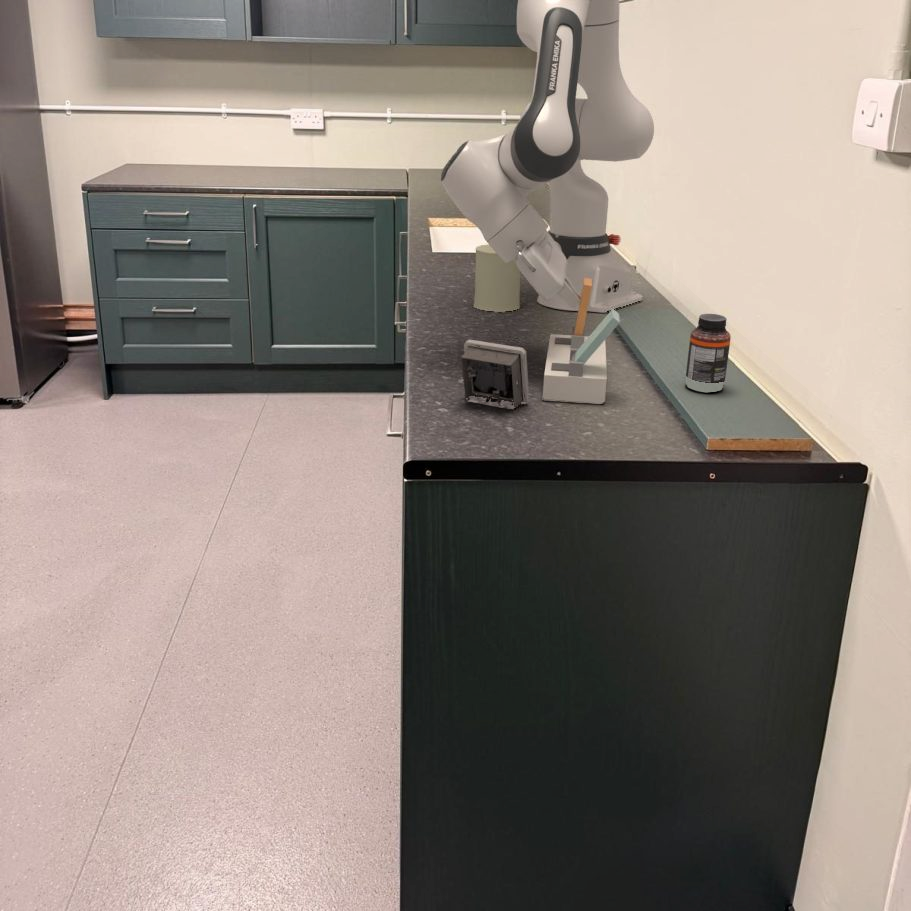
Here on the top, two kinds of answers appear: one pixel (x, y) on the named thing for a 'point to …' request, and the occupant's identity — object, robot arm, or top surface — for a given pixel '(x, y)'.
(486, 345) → the electrical switch
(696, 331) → the supplement bottle
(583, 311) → the rocker orange
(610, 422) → the top surface
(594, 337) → the rocker teal
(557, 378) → the white switch base
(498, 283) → the can
